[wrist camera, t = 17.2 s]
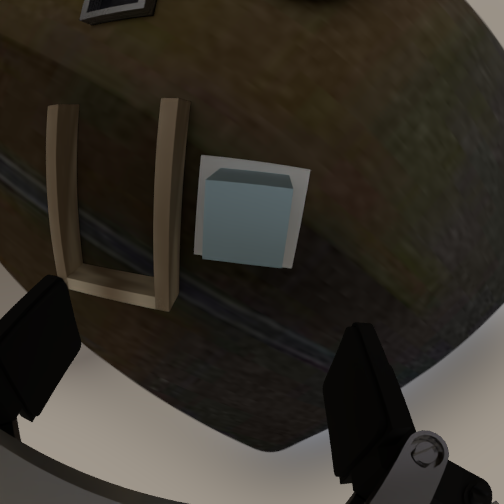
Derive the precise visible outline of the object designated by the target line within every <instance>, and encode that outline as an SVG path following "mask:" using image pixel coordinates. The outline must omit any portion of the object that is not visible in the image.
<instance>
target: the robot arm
mask: <svg viewBox="0 0 504 504" xmlns="http://www.w3.org/2000/svg"><path fill="white" fill-rule="evenodd" d="M80 348H81V339H80V336H79V332H78V329H77V325H76V321H75V317H74V313H73V309H72V305H71V300H70V296H69V291H68V287H67V284H66V283H65V282H64V280H63V278H61V277H57V276H53V275H47V276H45V277H44V278H43V279H42V280H41V281H40V282H39V283H37V284H36V285H35V286H34V287H33V288H32V289H31V290H30V291H29V292H28V293H27V294H26V295H25V296H24V297H23V298H21V299H20V301H18V302H17V304H15V305H14V306H13V307H12V308H11V309H10V310H9V311H8V312H7V313H6V314H5V315H4V316H3V317H2V318H1V319H0V504H187V503H182V502H177V501H173V500H168V499H164V498H160V497H155V496H152V495H148V494H144V493H141V492H137V491H134V490H130V489H127V488H124V487H121V486H118V485H115V484H111V483H109V482H106V481H103V480H101V479H98V478H95V477H93V476H90V475H88V474H85V473H83V472H80V471H78V470H76V469H74V468H71V467H69V466H67V465H65V464H62V463H60V462H58V461H56V460H54V459H52V458H50V457H48V456H46V455H44V454H42V453H40V452H38V451H36V450H35V449H33V448H31V447H29V446H27V445H26V444H24V443H22V442H21V439H20V434H19V428H18V422H17V416H18V414H20V415H21V416H22V417H24V418H25V419H27V420H29V421H31V422H33V420H34V418H35V417H36V416H38V415H40V413H41V412H42V410H43V408H44V406H45V405H46V403H47V401H48V400H49V398H50V396H51V395H52V393H53V391H54V390H55V388H56V386H57V385H58V383H59V382H60V380H61V378H62V377H63V375H64V373H65V372H66V370H67V369H68V367H69V366H70V364H71V362H72V361H73V360H74V358H75V357H76V355H77V354H78V352H79V350H80ZM323 396H324V402H325V409H326V416H327V423H328V430H329V437H330V444H331V452H332V460H333V468H334V474H335V476H337V477H339V478H340V484H347V483H352V484H353V491H354V493H353V494H352V496H351V497H350V498H349V500H348V501H347V502H346V504H499V503H498V502H497V501H495V502H493V503H492V502H491V501H492V491H491V488H490V486H489V484H488V483H487V482H486V481H485V480H484V479H482V478H480V477H478V476H476V475H474V474H473V473H471V472H469V471H467V470H465V469H464V468H462V467H460V466H458V465H456V464H455V463H453V462H451V461H449V460H448V457H449V452H448V447H447V445H446V443H445V441H444V440H443V439H442V438H441V437H440V436H439V435H437V434H436V433H433V432H431V431H423V430H422V431H418V432H416V430H415V427H414V424H413V422H412V419H411V416H410V413H409V410H408V408H407V405H406V402H405V399H404V397H403V394H402V392H401V389H400V386H399V383H398V381H397V378H396V376H395V373H394V371H393V369H392V367H391V365H389V363H388V360H387V358H386V355H385V353H384V350H383V348H382V346H381V343H380V341H379V338H378V336H377V334H376V331H375V329H374V327H373V325H372V324H370V323H357V322H355V323H353V324H352V326H351V327H347V328H346V330H345V333H344V335H343V338H342V341H341V343H340V346H339V348H338V350H337V353H336V355H335V358H334V360H333V362H332V365H331V367H330V369H329V372H328V374H327V376H326V379H325V381H324V384H323Z"/></svg>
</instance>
